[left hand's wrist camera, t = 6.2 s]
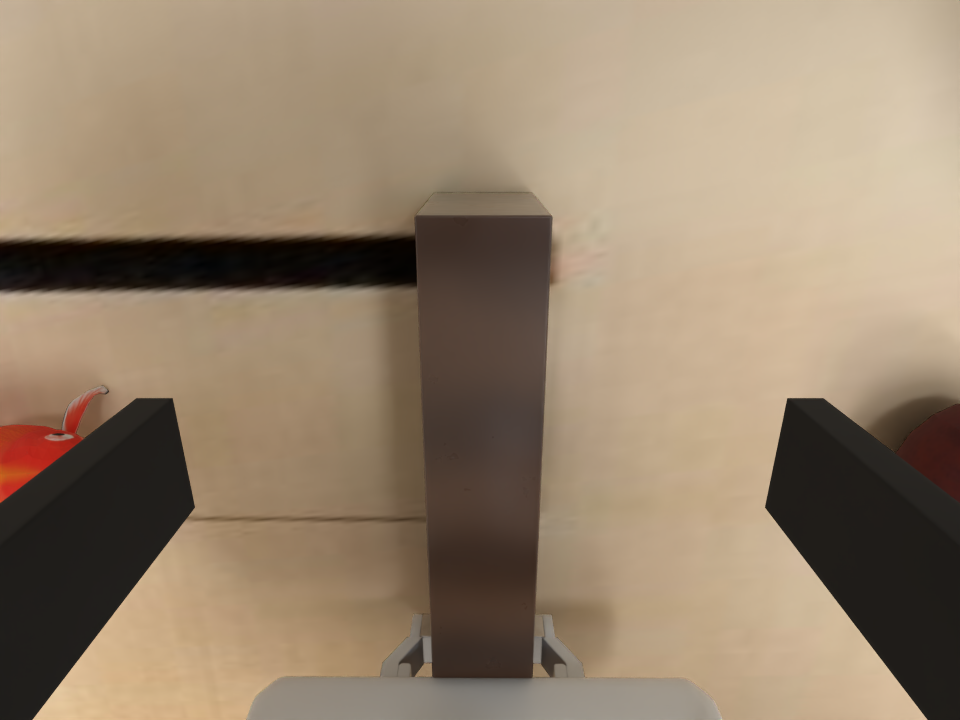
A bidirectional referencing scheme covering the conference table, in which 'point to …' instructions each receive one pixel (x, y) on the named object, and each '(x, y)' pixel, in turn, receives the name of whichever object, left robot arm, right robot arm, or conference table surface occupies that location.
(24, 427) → the fish
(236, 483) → the conference table surface
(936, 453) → the dark red ball
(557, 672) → the right robot arm
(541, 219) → the rail
